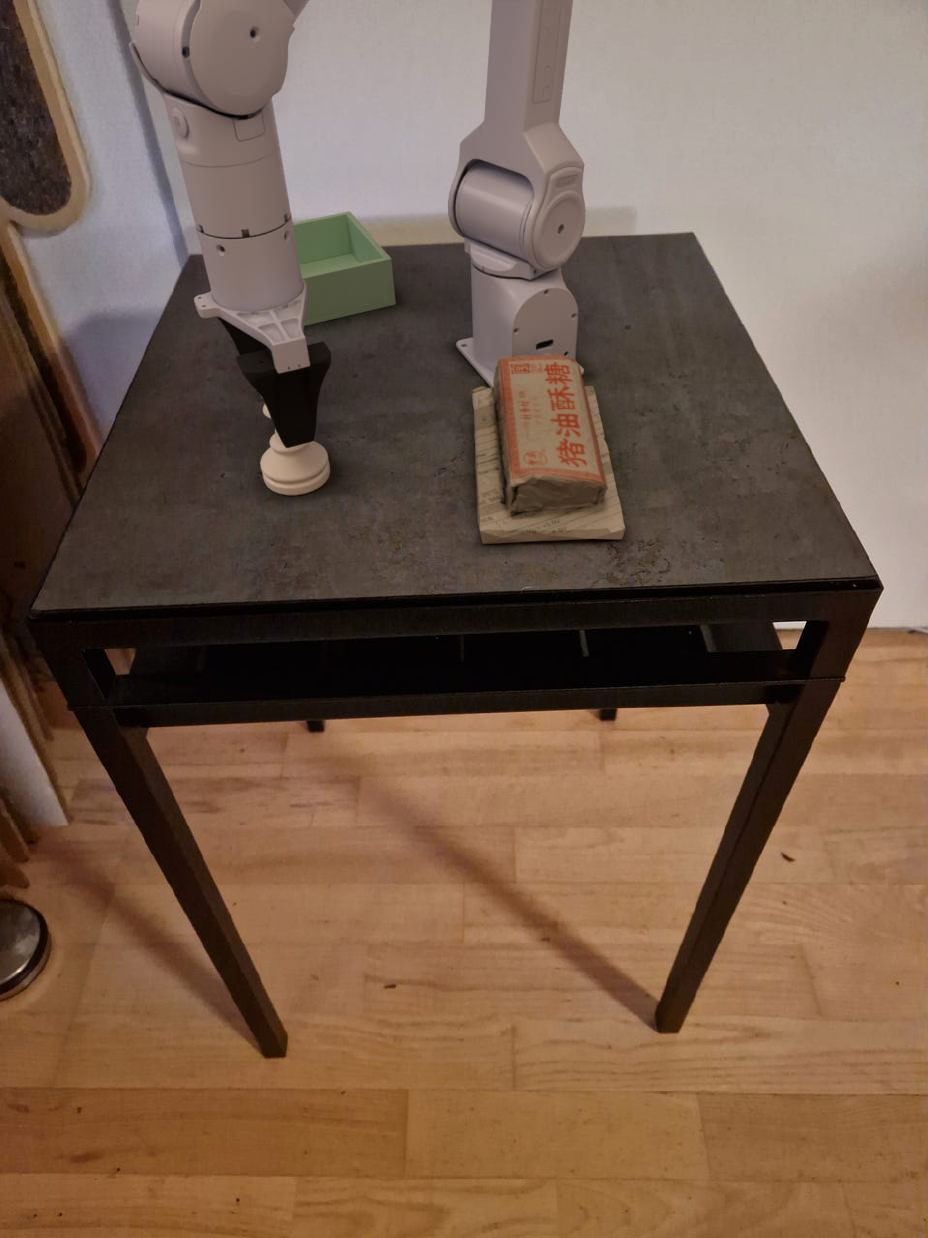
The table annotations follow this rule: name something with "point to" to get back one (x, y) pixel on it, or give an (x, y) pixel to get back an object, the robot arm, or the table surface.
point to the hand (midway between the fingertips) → (283, 413)
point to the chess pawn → (294, 466)
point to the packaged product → (542, 455)
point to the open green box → (342, 268)
